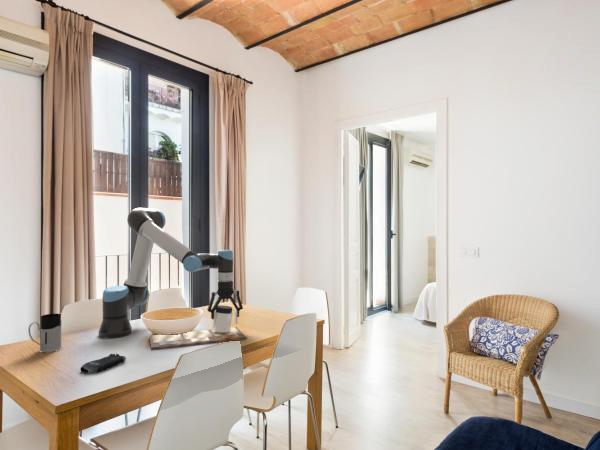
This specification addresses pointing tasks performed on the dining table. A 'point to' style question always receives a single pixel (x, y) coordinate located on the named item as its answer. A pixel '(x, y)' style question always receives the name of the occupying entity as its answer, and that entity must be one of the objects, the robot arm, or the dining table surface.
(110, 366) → the electronic device
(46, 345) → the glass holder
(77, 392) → the dining table surface
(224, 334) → the board
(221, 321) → the jar
